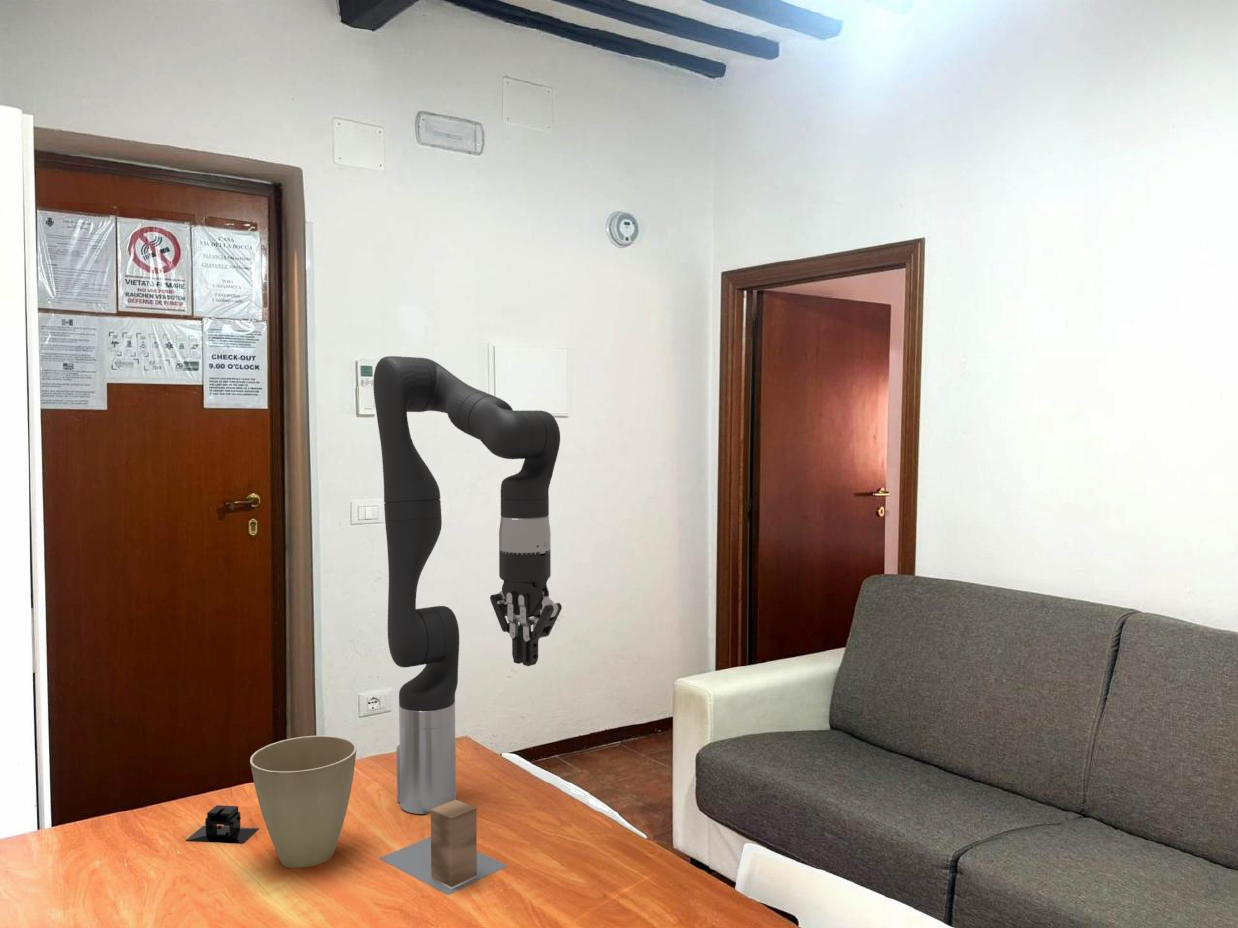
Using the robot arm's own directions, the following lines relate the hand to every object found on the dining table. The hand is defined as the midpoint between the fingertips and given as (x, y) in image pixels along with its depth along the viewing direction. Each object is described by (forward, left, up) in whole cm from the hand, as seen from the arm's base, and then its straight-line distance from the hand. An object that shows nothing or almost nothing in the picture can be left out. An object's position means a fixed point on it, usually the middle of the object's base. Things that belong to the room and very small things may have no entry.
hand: (525, 663), depth 140 cm
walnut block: (-2, -12, -29) cm, 31 cm away
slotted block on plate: (-41, -26, -30) cm, 57 cm away
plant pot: (-24, -22, -29) cm, 44 cm away
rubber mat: (-7, -10, -29) cm, 31 cm away
